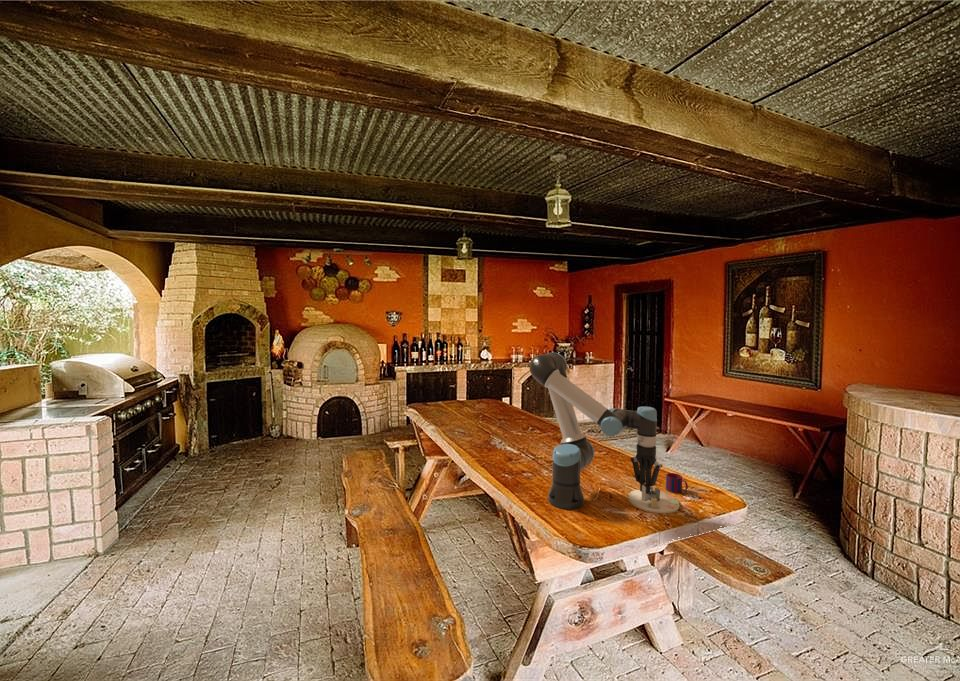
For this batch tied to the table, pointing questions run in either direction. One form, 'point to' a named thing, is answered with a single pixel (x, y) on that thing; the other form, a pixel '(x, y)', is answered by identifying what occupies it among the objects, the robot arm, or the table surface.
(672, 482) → the mug
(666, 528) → the table surface
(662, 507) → the dial plate
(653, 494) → the needle
